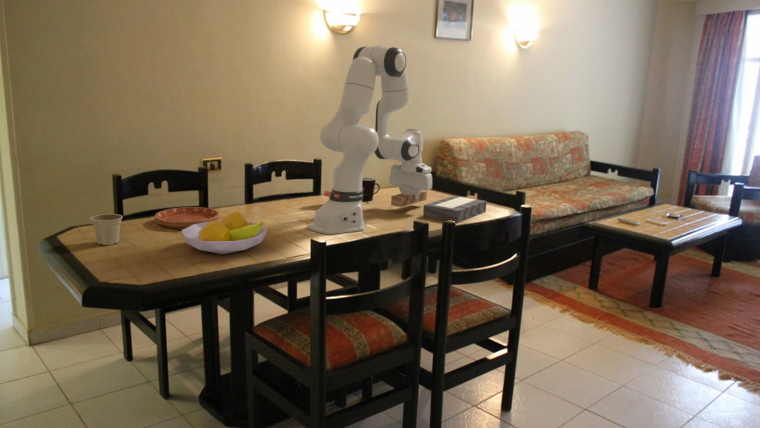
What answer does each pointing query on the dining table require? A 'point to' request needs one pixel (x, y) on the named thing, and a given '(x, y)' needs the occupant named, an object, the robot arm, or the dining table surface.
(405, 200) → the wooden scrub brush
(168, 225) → the saucer
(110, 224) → the flower pot
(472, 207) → the block
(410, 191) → the block
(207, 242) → the fruit bowl
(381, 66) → the robot arm
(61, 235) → the dining table surface
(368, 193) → the coffee mug
